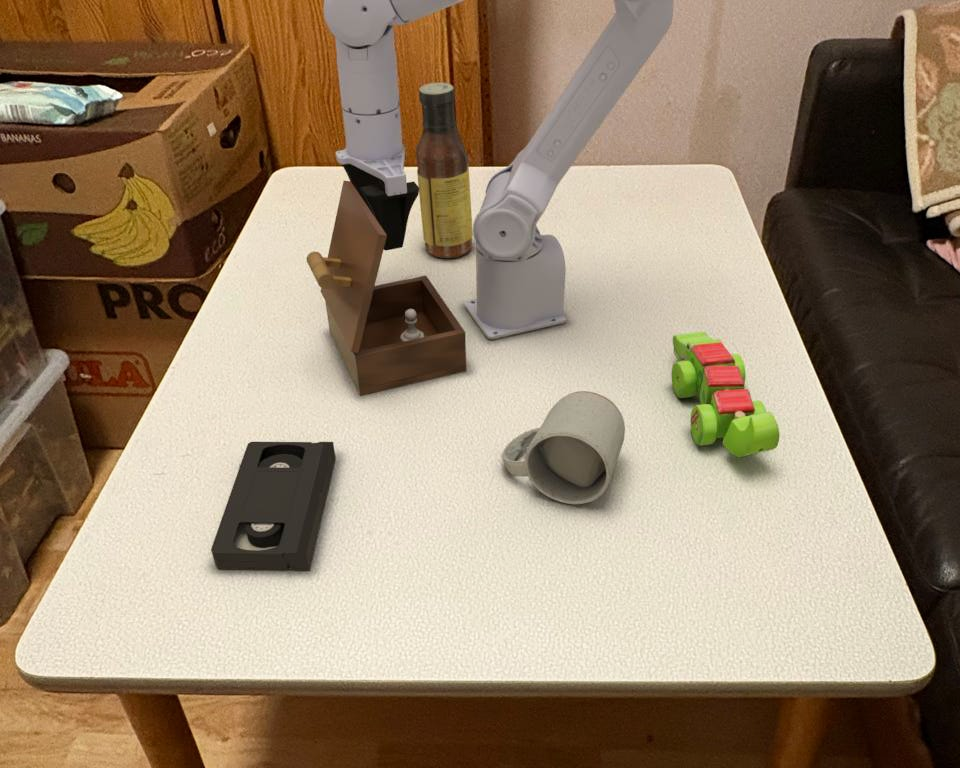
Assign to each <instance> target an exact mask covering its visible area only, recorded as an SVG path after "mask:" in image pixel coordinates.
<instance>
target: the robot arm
mask: <svg viewBox="0 0 960 768" xmlns="http://www.w3.org/2000/svg"><path fill="white" fill-rule="evenodd" d="M464 1H465V0H323V7H322V9H323V16H324V21H325V24H326V26H327V28H328V30H329V31H330V33H331V34H332V35H333V36H334V41H335V50H336V66H337V75H338V84H339V92H340V93H339V95H340V103H341V109H342V110H341V111H342V119H343V130H344V137H345V138H344V139H345V148H344V149H341V150H336V151H335V153H334V154H335V159H336V161H337V162H338V164H340V165H341V166H342V167H343V169H344V171H345V173H346V175H347V178H348V179H349V181H350V182H351V183H352V184H353V185H354V187H355V188H356V190H357V191H358V193H359V194H360V196H361V197H362V199H363V200H364V202H365V203H366V205H367V206H368V208H369V209H370V211H371V212H372V214H373V215H374V217H375V218H376V220H377V221H378V223H379V224H380V226H381V227H382V229H383V230H384V232H385V233H386V235H387V237H386V242H385V246H384V250H383V251H385V252H386V251H391V250H396V249H401V248H403V246H404V242H405V238H406V231H407V226H408V222H409V217H410V213H411V211H412V207H413V205H414V203H415V202H416V199H417V198H418V196H419V186H418V185H417V184H418V183H416V182H415V181H408V182H407V174H406V173H405V160H406V149H405V145H404V144H403V135H402V134H403V133H402V132H403V131H402V117H401V105H400V89H399V77H398V76H399V75H398V62H397V61H398V60H397V53H396V48H395V34H394V33H395V32H394V26H405V25H407V24H410V23H413V22H414V21H417V20H420V19H422V18H424V17H427V16H430V15H432V14H434V13H437V12H440V11H442V10H444V9H447V8H449V7H452V6H454V5H458V4H459V3H462V2H464ZM613 3H614V8H615V13H614V14H613V15H612V17H611V18H610V20H609V21H608V23H607V24H606V26H605V28H603V30H602V32H601V33H600V35H599V36H598V38H597V39H596V41H595V42H594V44H593V45H592V47H591V49H590V50H589V52H588V53H587V54H586V56H585V58H584V59H583V61H582V62H581V64H580V65H579V66H578V68H577V70H576V71H575V73H574V74H573V75H572V77H571V78H570V80H569V81H568V83H567V84H566V86H565V88H564V89H563V90H562V92H561V94H560V95H559V97H558V98H557V99H556V101H555V102H554V104H553V106H552V107H551V109H550V110H549V112H548V113H547V115H546V116H545V118H544V119H543V120H542V122H541V124H540V125H539V127H538V128H537V129H536V131H535V133H534V134H533V136H532V137H531V139H530V140H529V142H528V143H527V144H526V145H525V147H524V148H523V149H522V150H521V151H520V152H518V153H517V155H516V156H515V158H514V160H513V161H512V162H511V163H510V164H508V165H507V166H506V167H505V168H502V169H501V170H498V171H497V172H496V173H495V174H493V176H492V177H491V178H490V179H489V181H488V183H487V186H486V189H485V195H484V198H483V201H482V204H481V206H480V209H479V211H478V213H477V214H476V216H475V219H474V221H473V224H472V232H473V235H472V236H473V238H474V241H475V283H476V284H475V285H476V287H475V288H476V289H475V290H476V299H471V300H466V301H465V302H464V308H465V309H466V310H467V312H468V313H469V315H470V316H471V317H472V319H473V320H474V322H475V323H476V324H477V326H478V327H479V329H480V330H481V332H482V333H483V334H484V336H485V337H486V338H487V339H488V340H494V339H499V338H504V337H508V336H513V335H517V334H522V333H526V332H530V331H535V330H540V329H544V328H549V327H553V326H558V325H561V324H565V323H567V318H566V316H565V315H564V311H565V310H564V307H565V294H566V293H565V291H566V274H567V273H566V271H567V269H566V259H565V254H564V251H563V247H562V245H561V243H560V241H559V240H558V239H557V237H555V235H553V234H541V232H540V230H539V227H538V225H537V224H538V222H539V221H540V218H541V217H542V216H543V214H544V213H545V211H546V209H547V208H548V206H549V204H550V201H551V200H552V197H553V195H554V193H555V191H556V189H557V188H558V186H559V184H560V182H561V181H562V180H563V178H564V177H565V175H566V174H567V173H568V171H569V170H570V168H571V167H572V166H573V164H574V163H575V161H576V160H577V158H578V157H579V156H580V155H581V153H582V152H583V150H584V149H585V148H586V146H587V144H588V143H589V142H590V141H591V139H592V138H593V137H594V135H595V134H596V132H597V131H598V129H599V128H600V127H601V125H602V124H603V122H604V121H605V120H606V118H607V117H608V116H609V114H610V113H611V111H612V110H613V108H614V107H615V106H616V105H617V103H618V102H619V100H620V99H621V98H622V96H623V95H624V93H625V92H626V90H627V89H628V88H629V86H630V85H631V83H632V82H633V81H634V79H635V78H636V76H638V74H639V72H640V71H641V70H642V68H643V67H644V66H645V64H646V62H647V61H648V60H649V58H650V57H651V55H652V54H653V53H654V51H655V50H656V49H657V47H658V46H659V44H660V43H661V42H662V40H663V39H664V38H665V37H666V34H667V33H668V32H669V30H670V28H671V25H672V22H673V17H674V16H673V15H674V14H673V13H674V0H613Z"/></svg>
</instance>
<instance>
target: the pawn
mask: <svg viewBox="0 0 960 768" xmlns="http://www.w3.org/2000/svg"><path fill="white" fill-rule="evenodd" d="M416 316H417V314H416V312H415V310H413V309H408V310H407V311H406V312H405V318H406V319H405V322H406V323H407V324H408V329H407V330H405V332H403V333H402V334H401V336H400V338H401V342H404V341H409V340H413V339H418V338H422V337H424V334H423V332H421V331H419V330H418V329H416V327H415V323H416V322H417V319H416Z"/></svg>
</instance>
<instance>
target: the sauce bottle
mask: <svg viewBox="0 0 960 768" xmlns="http://www.w3.org/2000/svg"><path fill="white" fill-rule="evenodd" d="M454 87H455V86H454V85H452V84H450V83H448V82H431V83H430V82H429V83H426V84H423V85H422V86H420V87H419V89H418V97H419V98H418V99H419V102H420V104H421V112H422V128H423V129H422V132H421V136H420V137H419V140H418V143H417V145H416V147H415V155H416V156H415V157H416V164H417V165H416V166H417V170H416V173H417V174H416V175H417V184H418V185H417V186H418V187H419V194H418V196H419V205H420V214H421V216H420V217H421V226H422V236H423V240H424V246H425V247H424V248H425V250H426V252H428V253H429V254H431V255H432V256H435V257H437V258H441V259H442V258H443V259H445V258H446V259H452V258H457V257H462V256H463V255H465V254H467V253H468V252H469V251H470V250H471V249H472V241H473V236H474V235H473V217H472V215H473V214H472V199H471V185H470V183H471V182H470V166H469V157H468V156H469V155H468V154H467V151H466V148H465V145H464V142H463V140H462V137H461V134H460V131H459V129H458V126H457V122H456V118H455V117H456V116H455V105H454V104H455V100H456V93H455V88H454Z"/></svg>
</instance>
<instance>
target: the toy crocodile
mask: <svg viewBox="0 0 960 768" xmlns="http://www.w3.org/2000/svg"><path fill="white" fill-rule="evenodd" d="M672 346H673V354H674V355H673V356H675V358H676V359H677V361H675V362H674V363H673V365H672V367H671V384H672V388H673V389H672V390H673V392H674V393H675V395H676V397H678V398H679V399H684V398H692V397H694V396H695V395H696V393H697V394H698V398H699V402H700V404H695V405H694V406H693V407H692V409H691V413H690V432H691V436H692V440H693V442H694V444H696V445H698V446H710V445H713V444H714V443H715V442H716V440H717V439H719V438H723V440H722V445H723V447H725V449H726V450H727V451H728V452H729V453H730V454H731V455H733V456H735V457H736V458H737V457H738V458H743V457H747V456H750V455H754V454H758V453H763V452H767V451H771V450H775V449H776V448H777V447H778V445H779V442H780V428H779V425H778V422H777V420H776V418H775V416H774V415H773V413H772V412H771V411H767V407H766V406H765V405H764V402H762V401H761V400H753V399H752V396H751V393H750V390H749V388H745V387H746V386H745V384H746V366H745V361H744V360H743V358H742V356H741V355H740V354H739V353H730V351H729V350H728V348H727V347H726V346H725V344H724V343H723V341H722V339H720V338H715V339H714V338H711V336H709V334H708V332H707V331H699V332H689V333H682V334H680V333H679V334H674V335H673V336H672Z"/></svg>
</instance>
